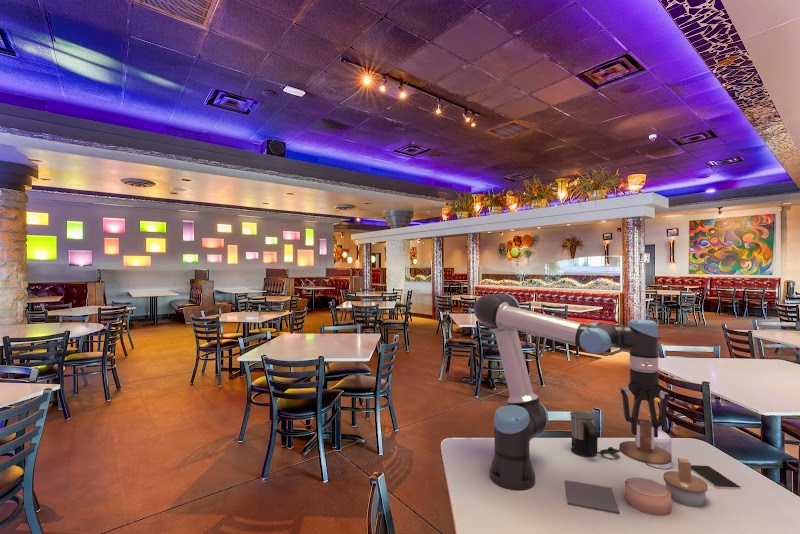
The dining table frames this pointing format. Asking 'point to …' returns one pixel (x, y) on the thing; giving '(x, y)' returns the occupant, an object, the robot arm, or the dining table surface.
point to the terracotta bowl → (648, 496)
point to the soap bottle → (662, 443)
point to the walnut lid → (645, 447)
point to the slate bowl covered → (685, 485)
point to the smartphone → (714, 477)
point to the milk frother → (586, 435)
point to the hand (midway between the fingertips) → (644, 446)
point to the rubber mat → (591, 496)
